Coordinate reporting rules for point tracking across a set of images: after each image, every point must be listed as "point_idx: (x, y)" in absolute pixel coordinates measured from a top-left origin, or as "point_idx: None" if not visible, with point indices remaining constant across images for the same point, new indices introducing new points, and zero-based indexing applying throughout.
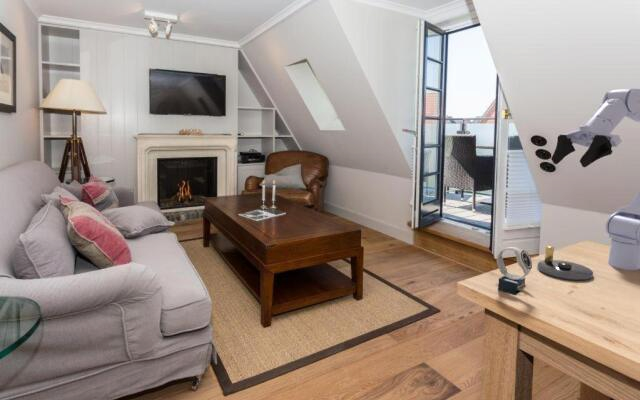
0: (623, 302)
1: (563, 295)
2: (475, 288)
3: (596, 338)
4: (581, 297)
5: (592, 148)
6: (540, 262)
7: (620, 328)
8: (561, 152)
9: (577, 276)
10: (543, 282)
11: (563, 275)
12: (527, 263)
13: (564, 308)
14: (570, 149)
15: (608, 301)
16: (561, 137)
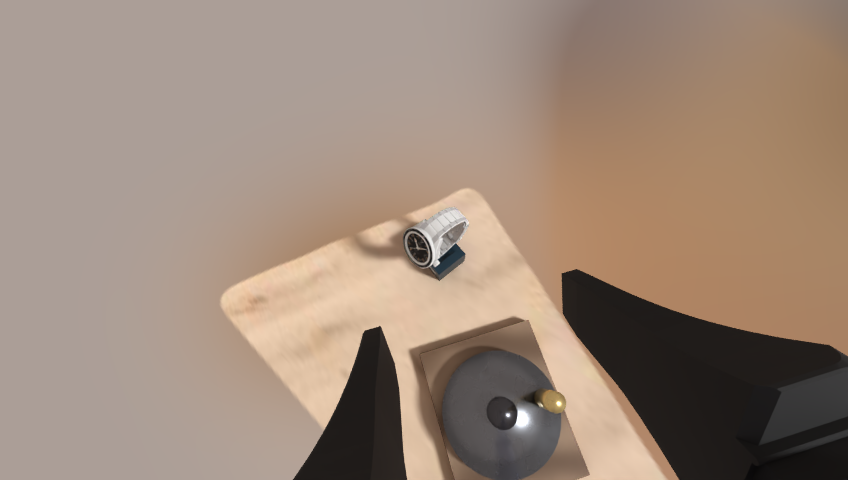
0: None
1: (404, 338)
2: (448, 198)
3: (264, 285)
4: None
5: (338, 410)
6: (541, 375)
7: (279, 346)
8: (618, 345)
9: (446, 404)
10: None
11: (455, 374)
12: (414, 251)
13: (355, 303)
14: (686, 464)
15: None
16: (770, 357)
